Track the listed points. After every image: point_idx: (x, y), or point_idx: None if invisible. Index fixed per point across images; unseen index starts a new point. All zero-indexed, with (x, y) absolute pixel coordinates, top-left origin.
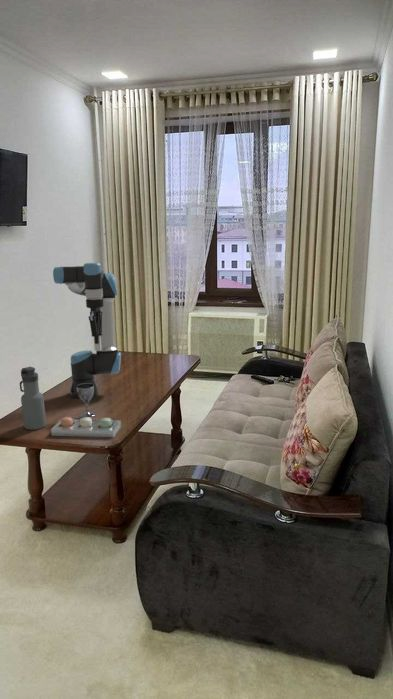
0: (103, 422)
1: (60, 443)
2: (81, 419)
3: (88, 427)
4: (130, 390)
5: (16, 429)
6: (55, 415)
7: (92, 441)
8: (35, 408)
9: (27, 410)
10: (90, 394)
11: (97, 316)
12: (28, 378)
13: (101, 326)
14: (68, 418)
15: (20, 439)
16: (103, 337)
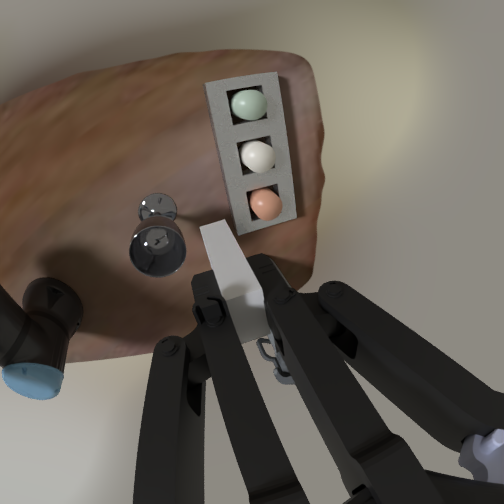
0: (266, 103)
1: (320, 172)
2: (264, 169)
3: (271, 140)
4: None
5: None
6: (188, 276)
7: (300, 110)
8: (288, 284)
9: None
10: (164, 217)
11: (436, 500)
12: None
13: (164, 409)
14: (265, 204)
15: (314, 253)
16: None
